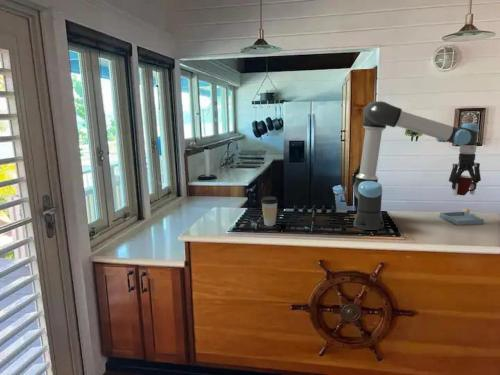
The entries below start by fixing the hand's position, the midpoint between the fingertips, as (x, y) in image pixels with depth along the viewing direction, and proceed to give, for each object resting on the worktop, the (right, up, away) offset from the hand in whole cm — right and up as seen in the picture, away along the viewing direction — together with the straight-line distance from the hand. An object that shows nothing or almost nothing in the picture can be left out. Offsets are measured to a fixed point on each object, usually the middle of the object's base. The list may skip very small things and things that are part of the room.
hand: (463, 194), depth 202 cm
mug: (0, 0, 0) cm, 0 cm away
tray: (0, -14, +3) cm, 15 cm away
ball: (+9, -12, +14) cm, 20 cm away
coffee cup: (-104, -17, +4) cm, 106 cm away
